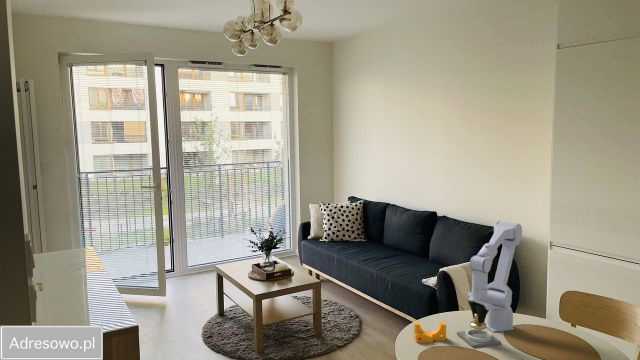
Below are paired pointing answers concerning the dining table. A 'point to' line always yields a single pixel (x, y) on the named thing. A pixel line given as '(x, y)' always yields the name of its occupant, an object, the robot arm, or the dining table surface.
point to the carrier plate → (478, 338)
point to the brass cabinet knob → (475, 323)
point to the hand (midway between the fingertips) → (478, 320)
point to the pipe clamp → (429, 333)
